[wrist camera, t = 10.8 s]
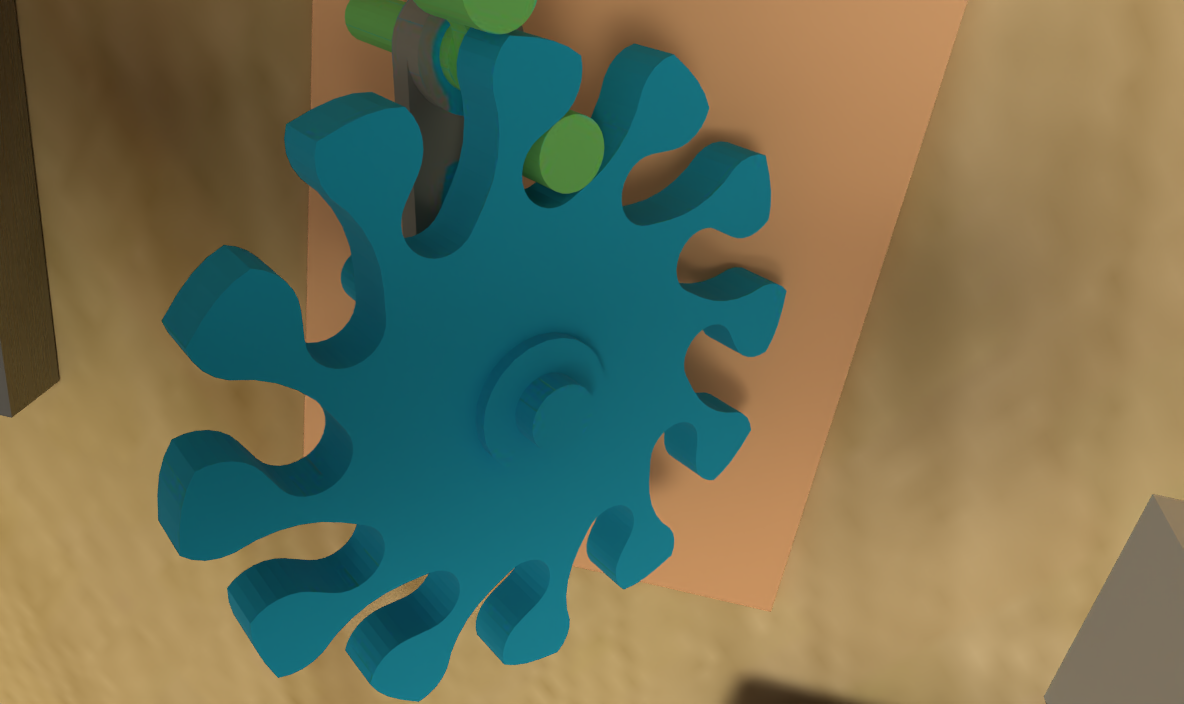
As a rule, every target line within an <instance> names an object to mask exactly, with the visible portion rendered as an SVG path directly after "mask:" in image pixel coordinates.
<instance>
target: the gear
mask: <svg viewBox="0 0 1184 704" xmlns="http://www.w3.org/2000/svg"><path fill="white" fill-rule="evenodd" d="M536 2H537V0H407V2H404V1H401V0H350V1H349V3H348V4H347V7H346V10H345V23H346V26H347V28H348V30H349V32H350V33H351V35H352V36H354V37H355V38H356V39H358V40H361V41H363V42H366V43H368V44H371V45H373V46H376V47H379V48H381V49H384V50H386V51H389V52H391V53H392V63H393V79H394V96H395V102H393V101H391V100H389V99H387V98H384V97H382V96H380V95H378V94H376V93H373V92H362V93H352V94H349V95H345V96H342V97H338V98H335V99H332V100H330V101H328V102H326V103H324V104H322V105H319V106H317V107H315V108H313V109H311V110H310V111H308V112H306V113H304V114H303V115H301V116H299V117H298V118H296V119H294V120H293V121H291V122H289V123H287V124H286V129H285V137H284V141H285V149H286V155H287V157H288V159H289V162H290V164H291V167H292V168H293V169H294V171H295V172H296V173H297V175H298V176H299V177H300V178H301V179H302V180H303V181H304V182H306V183H307V184H308V185H309V186H311V187H312V188H313V189H314V190H316V191H317V192H318V193H319V194H320V195H321V197H322V198H323V199H324V200H325V201H326V202H327V204H328V205H329V206H330V207H331V208H332V210H333V212H334V213H335V215H336V217H337V218H338V220H339V222H340V223H341V225H342V227H343V230H344V232H345V235H346V238H347V240H348V243H349V246H350V251H351V255H350V257H349V258H348V259H347V260H346V262H345V263H344V265H343V268H342V271H341V284H342V287H343V289H344V291H345V292H346V294H348V295H349V296H350V297H351V298H352V299H353V300H355V301H356V304H355V308H354V311H353V314H352V316H351V318H350V320H349V322H348V323H347V324H346V325H345V326H344V328H343V329H342V330H341V331H339V332H338V333H337V334H336V335H334V336H332V337H330V338H328V339H327V340H323V341H320V342H313V343H306V342H305V339H304V331H303V322H302V314H301V308H300V304H299V300H298V298H297V296H296V294H295V292H294V291H293V289H292V288H291V287H290V286H289V285H288V284H287V283H286V281H284V280H283V279H282V278H281V277H280V276H279V275H277V274H276V273H275V272H274V271H273V270H272V269H270V268H269V267H268V266H267V265H266V264H265V263H264V262H262V261H261V260H260V259H259V258H258V257H256V256H255V255H253V254H252V253H250V252H249V251H247V250H244V249H242V248H239V247H236V246H228V245H223V246H222V247H220V248H219V249H218V250H216V251H215V252H214V253H212V254H211V255H210V256H208V257H207V258H206V259H205V260H204V261H203V262H202V263H201V264H200V265H199V266H198V267H197V269H196V270H195V271H194V272H193V273H192V274H191V275H190V277H189V278H188V280H187V281H186V282H185V284H184V285H183V287H182V288H181V289H180V291H179V292H178V294H177V295H176V297H175V299H174V300H173V302H172V304H171V306H170V307H169V309H168V311H167V312H166V314H165V316H164V318H163V319H162V323H163V324H164V326H165V328H166V330H167V332H168V333H169V334H170V336H171V337H172V338H173V339H174V340H175V341H176V343H177V344H178V345H179V346H180V347H181V349H182V350H183V351H184V352H185V353H186V355H187V356H188V357H189V358H190V359H191V361H192V362H193V363H194V364H195V365H197V366H198V367H199V368H200V369H201V370H202V371H203V372H205V373H207V374H209V375H211V376H213V377H216V378H221V379H226V380H258V381H265V382H272V383H277V384H280V385H283V386H286V387H289V388H292V389H295V390H298V391H300V392H302V393H303V394H305V395H307V396H309V397H310V398H312V399H314V400H315V401H317V402H318V403H319V404H320V406H321V407H322V409H323V411H324V415H325V428H324V432H323V435H322V437H321V439H320V441H319V443H318V444H317V445H316V447H315V448H314V449H313V450H312V451H311V452H310V453H309V454H308V455H307V456H305V457H304V458H302V459H300V460H299V461H297V462H294V463H291V464H288V465H282V466H273V465H268V464H265V463H262V462H261V461H259V460H258V459H256V458H255V457H254V456H253V455H252V454H251V453H250V452H249V451H248V450H247V449H246V448H244V447H243V446H242V445H241V444H240V443H239V442H238V441H237V440H235V439H234V438H232V437H231V436H230V435H227V434H224V433H222V432H219V431H211V430H202V431H194V432H190V433H186V434H183V435H181V436H178V437H176V438H174V439H172V440H171V443H170V445H169V447H168V449H167V451H166V453H165V455H164V458H163V462H162V466H161V470H160V474H159V483H158V521H159V522H160V524H161V526H162V527H163V529H164V530H165V532H166V534H167V535H168V537H169V539H170V540H171V542H172V544H173V545H174V547H175V549H176V550H177V552H178V553H179V555H180V556H182V557H185V558H188V559H191V560H203V561H207V560H213V559H219V558H222V557H225V556H227V555H230V554H233V553H235V552H237V551H238V550H240V549H242V548H243V547H245V546H247V545H249V544H250V543H252V542H254V541H255V540H258V539H260V538H262V537H265V536H267V535H269V534H272V533H274V532H276V531H279V530H283V529H286V528H290V527H293V526H297V525H301V524H309V523H316V522H342V523H351V524H357V525H356V528H355V531H354V533H353V535H352V536H351V538H350V539H349V541H348V542H347V543H346V544H345V545H344V546H343V547H342V548H341V549H340V550H338V551H337V552H335V553H334V554H332V555H330V556H328V557H326V558H322V559H318V560H300V559H287V558H280V559H271V560H267V561H263V562H261V563H258V564H256V565H253V566H252V567H250V568H249V569H247V570H245V571H244V572H242V573H241V574H240V575H239V576H238V577H237V578H235V579H234V581H233V582H232V583H231V584H230V585H229V586H228V588H227V590H228V599H229V603H230V606H231V609H232V611H233V614H234V616H235V617H236V619H237V620H238V622H239V623H240V625H241V627H242V628H243V630H244V631H245V633H246V635H247V636H248V638H249V639H250V641H251V643H252V644H253V646H254V647H255V649H256V650H257V652H258V653H259V655H260V656H261V658H262V659H263V661H264V662H265V664H266V665H267V666H268V667H269V668H270V669H271V670H272V672H273V673H274V674H275V675H276V676H277V677H278V678H279V677H283V676H287V675H291V674H293V673H295V672H297V671H299V670H301V669H303V668H305V667H306V666H307V665H309V664H310V663H312V662H313V661H314V660H315V659H316V658H317V657H318V656H319V655H320V654H322V653H323V651H324V650H325V649H326V647H327V646H328V645H329V643H330V642H331V641H332V640H333V638H334V637H335V636H336V634H337V633H338V632H339V631H340V630H341V629H342V628H343V627H344V626H345V625H346V624H347V623H348V622H349V621H350V620H351V619H352V618H353V617H354V616H355V615H357V614H358V613H359V612H360V611H361V610H363V609H364V608H365V607H366V606H367V605H369V604H370V603H372V602H373V601H375V600H376V599H378V598H379V597H381V596H382V595H384V594H385V593H387V592H389V591H391V590H393V589H395V588H397V587H399V586H401V585H403V584H405V583H407V582H409V581H412V580H414V579H416V578H419V577H421V576H423V575H426V574H428V573H429V574H428V576H427V578H426V579H425V581H424V582H423V583H422V584H421V585H420V587H419V588H418V589H416V590H415V591H414V592H413V593H411V594H410V595H408V596H406V597H404V598H402V599H400V600H397V601H395V602H393V603H391V604H388V605H386V606H384V607H382V608H380V609H378V610H376V611H374V612H373V613H371V614H370V615H369V616H367V617H366V618H365V619H364V620H363V621H362V622H361V623H360V624H359V625H358V626H357V627H356V628H355V630H354V631H353V633H352V634H351V636H350V638H349V640H348V642H347V646H346V649H345V651H346V652H347V653H348V655H349V656H350V657H351V659H352V660H353V662H354V663H355V664H356V666H357V667H358V668H359V670H360V671H361V672H362V674H363V675H364V677H365V678H366V679H367V681H368V682H369V683H370V685H372V686H373V687H374V688H375V689H376V690H377V691H378V692H380V693H382V694H384V695H386V696H389V697H393V698H397V699H401V700H409V701H417V702H419V701H420V700H422V699H423V698H424V697H426V696H427V695H428V694H429V693H430V692H431V691H432V690H433V689H434V688H435V687H436V686H437V685H438V683H439V682H440V680H441V679H442V678H443V676H444V674H445V671H446V669H447V667H448V663H449V659H450V655H451V652H452V649H453V647H454V644H455V642H456V640H457V637H458V635H459V633H460V632H461V630H462V628H463V626H464V624H465V623H466V621H467V619H468V618H469V617H470V615H471V614H472V612H473V611H474V610H475V608H476V607H477V606H478V604H479V603H480V602H481V601H482V600H483V599H484V598H485V596H486V595H487V594H488V593H489V592H490V591H491V590H492V589H493V588H494V587H495V586H496V585H497V584H498V583H499V582H500V581H501V580H502V579H503V578H504V577H505V576H506V575H507V574H508V573H509V572H510V571H511V570H512V569H513V568H514V570H513V571H512V572H511V573H510V575H509V576H508V577H507V578H506V579H505V580H504V581H503V582H502V583H501V584H500V585H499V586H498V587H497V588H496V589H495V590H494V591H493V592H492V593H491V594H490V595H489V596H488V598H487V599H486V600H485V602H484V603H483V605H482V606H481V608H480V611H479V613H478V616H477V620H476V631H477V635H478V636H479V637H480V638H481V639H482V640H483V641H484V642H485V644H486V645H487V646H488V647H489V648H490V649H491V650H492V651H493V652H494V654H495V655H496V656H497V657H498V658H499V659H500V660H501V661H502V662H503V663H504V664H505V665H518V664H524V663H528V662H532V661H535V660H538V659H541V658H544V657H546V656H549V655H551V654H554V653H556V652H558V650H559V649H560V647H561V646H562V645H563V643H564V641H565V639H566V636H567V634H568V630H569V621H570V619H569V615H568V611H567V604H566V592H567V584H568V579H569V575H570V571H571V568H572V565H573V562H574V560H575V557H576V555H577V552H578V550H579V548H580V546H581V544H582V542H583V540H584V538H585V536H586V534H587V531H588V530H589V528H590V526H591V524H592V523H593V522H594V520H595V519H596V520H595V522H594V525H593V527H592V529H591V531H590V533H589V536H588V540H587V544H586V551H587V555H588V557H589V559H590V561H591V562H592V563H594V564H595V565H596V566H597V567H598V568H599V569H600V570H602V571H603V572H604V573H605V574H606V575H607V576H608V577H610V578H611V579H612V580H613V581H614V582H615V583H616V584H618V585H619V586H620V587H621V588H622V589H626V588H628V587H630V586H632V585H634V584H636V583H638V582H639V581H641V580H642V579H644V578H645V577H647V576H648V575H649V574H650V573H652V572H653V571H654V570H656V569H657V568H658V567H659V566H660V565H661V564H662V563H664V562H665V561H666V560H667V559H668V558H669V557H670V556H671V555H672V552H673V549H674V535H673V532H672V531H671V529H670V528H669V527H668V526H666V525H665V524H664V523H663V522H661V520H660V519H659V518H658V516H657V515H656V513H655V511H654V509H653V506H652V503H651V498H650V493H649V476H650V461H651V455H652V451H653V449H654V446H655V444H656V442H657V441H658V439H659V438H660V437H661V435H662V434H663V433H664V445H665V448H666V451H667V452H668V454H669V455H671V456H672V457H673V458H675V459H676V460H677V461H679V462H680V463H682V464H683V465H685V466H686V467H688V468H689V469H690V470H692V471H693V472H695V473H696V474H698V475H699V476H701V477H702V478H703V479H706V480H715V479H716V478H717V477H718V476H719V475H720V474H721V473H722V472H723V471H724V469H725V468H726V467H727V466H728V465H729V463H730V462H731V461H732V459H733V458H734V457H735V455H736V454H737V452H738V451H739V449H740V448H741V446H742V444H743V443H744V441H745V439H746V438H747V436H748V435H749V433H750V431H751V426H750V422H749V420H748V418H747V417H746V416H745V415H744V414H743V413H741V412H739V411H738V410H736V409H734V408H733V407H731V406H729V405H728V404H726V403H724V402H723V401H721V400H719V399H718V398H716V397H714V396H713V395H711V394H708V393H705V392H702V393H695V392H694V390H693V388H692V386H691V384H690V382H689V380H688V378H687V376H686V374H685V371H684V361H685V356H686V353H687V350H688V348H689V346H690V344H691V342H692V341H693V339H694V338H695V337H696V335H697V334H698V333H700V332H701V331H702V330H703V331H704V333H705V334H706V335H708V336H709V337H710V338H712V339H714V340H716V341H718V342H720V343H721V344H723V345H725V346H727V347H729V348H730V349H732V350H734V351H736V352H738V353H740V354H741V355H743V356H746V357H755V356H758V355H761V354H763V353H764V352H766V350H767V349H768V347H769V345H770V343H771V341H772V339H773V337H774V334H775V332H776V329H777V326H778V323H779V320H780V316H781V313H782V309H783V305H784V301H785V296H786V292H787V291H786V290H785V289H784V287H783V286H781V285H779V284H776V283H774V282H772V281H770V280H768V279H766V278H764V277H761V276H759V275H757V274H755V273H753V272H751V271H748V270H746V269H744V268H742V267H734V268H730V269H727V270H726V271H724V272H722V273H720V274H719V275H717V276H715V277H713V278H710V279H707V280H705V281H701V282H696V283H679V281H678V279H677V271H676V270H677V262H678V259H679V255H680V253H681V251H682V249H683V247H684V245H685V244H686V242H687V241H688V240H689V239H690V238H691V237H692V236H693V235H694V234H695V233H697V232H698V231H700V230H702V229H705V228H713V229H715V230H717V231H720V232H722V233H724V234H727V235H729V236H731V237H734V238H746V237H749V236H751V235H753V234H755V233H756V232H758V231H759V230H760V229H761V228H762V227H763V226H764V225H765V224H766V222H767V221H768V220H769V215H770V208H771V185H770V175H769V170H768V165H767V159H766V155H763V154H760V153H757V152H754V151H751V150H749V149H746V148H743V147H740V146H737V145H734V144H731V143H728V142H722V141H719V142H715V143H711V144H710V145H708V146H706V147H704V148H703V149H702V150H701V151H700V152H699V153H698V154H697V155H696V156H695V158H694V159H693V160H692V162H691V163H690V164H689V165H688V167H687V168H686V169H685V170H684V171H683V172H682V173H681V174H680V175H679V176H678V177H677V178H676V179H675V180H674V181H673V182H672V183H671V184H669V185H668V186H667V187H666V188H664V189H663V190H662V191H660V192H658V193H657V194H655V195H653V196H651V197H649V198H648V199H645V200H642V201H639V202H636V203H633V204H630V205H626V206H622V190H623V186H624V183H625V180H626V178H627V176H628V174H629V172H630V171H631V169H632V168H633V167H634V166H635V165H636V164H637V163H638V161H640V160H641V159H643V158H644V157H646V156H649V155H651V154H656V153H660V152H665V151H670V150H674V149H677V148H680V147H682V146H683V145H685V144H687V143H688V142H689V141H690V140H691V139H692V138H693V137H695V135H696V134H697V133H698V131H699V130H700V129H701V127H702V125H703V123H704V121H705V119H706V117H707V114H708V111H709V105H708V101H707V98H706V95H705V93H704V91H703V89H702V87H701V86H700V84H699V82H698V80H697V79H696V78H695V77H694V75H693V74H692V73H691V72H690V70H689V69H688V68H687V67H686V66H685V65H684V64H683V63H682V62H681V61H680V60H679V59H678V58H677V57H676V56H675V55H674V54H671V53H668V52H664V51H660V50H657V49H653V48H649V47H646V46H642V45H638V44H635V43H634V44H632V45H630V46H628V47H626V48H624V49H623V50H622V51H621V52H620V53H619V54H618V55H616V57H615V58H614V60H613V61H612V62H611V64H610V65H609V67H608V69H607V72H606V74H605V76H604V79H603V83H602V87H601V91H600V95H599V98H598V101H597V103H596V106H595V108H594V111H593V113H592V116H591V118H590V117H588V116H586V115H583V114H580V113H578V112H575V111H572V110H570V108H571V106H572V104H573V103H574V101H575V99H576V97H577V94H578V92H579V88H580V84H581V80H582V58H581V55H580V54H578V53H577V52H575V51H574V50H572V49H571V48H570V47H568V46H565V45H563V44H560V43H558V42H555V41H553V40H549V39H546V38H542V37H539V36H536V35H532V34H529V33H526V32H524V31H523V27H522V25H523V24H524V23H525V22H526V20H527V19H528V18H529V17H530V15H531V14H532V12H533V10H534V8H535V6H536ZM522 176H524V177H526V178H528V179H530V180H533V181H535V183H534V184H533V185H531V186H530V187H528V188H525V189H524V186H523V183H522ZM401 221H402V225H403V234H402V227H401Z"/></svg>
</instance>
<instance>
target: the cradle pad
mask: <svg viewBox="0 0 1184 704" xmlns="http://www.w3.org/2000/svg"><path fill="white" fill-rule="evenodd" d="M349 1H350V0H313V4H312V54H311V105H310V110H311V109H313V108H315V107H317V106H319V105H322V104H324V103H326V102H328V101H330V100H332V99H335V98H338V97H342V96H345V95H349V94H352V93H362V92H373V93H376V94H378V95H380V96H382V97H384V98H387V99H389V100H391V101H393V102H395V96H394V79H393V63H392V53H391V52H389V51H386V50H384V49H381V48H379V47H376V46H373V45H371V44H368V43H366V42H363V41H361V40H358V39H356V38H355V37H354V36H352V35H351V33H350V32H349V30H348V28H347V26H346V23H345V10H346V7H347V4H348V3H349ZM401 1H404V2H407V0H401ZM967 2H968V0H537V2H536V6H535V8H534V10H533V12H532V14H531V15H530V17H529V18H528V19H527V20H526V22H525V23H524V24H523V25H522V27H523V31H524V32H526V33H529V34H532V35H536V36H539V37H542V38H546V39H549V40H553V41H555V42H558V43H560V44H563V45H565V46H568V47H570V48H571V49H572V50H574V51H575V52H577V53H578V54H580V55H581V58H582V80H581V84H580V88H579V92H578V94H577V97H576V99H575V101H574V103H573V104H572V106H571V108H570V110H572V111H575V112H578V113H580V114H583V115H586V116H588V117H590V118H591V116H592V113H593V111H594V108H595V106H596V103H597V101H598V98H599V95H600V91H601V87H602V83H603V79H604V76H605V74H606V72H607V69H608V67H609V65H610V64H611V62H612V61H613V60H614V58H615V57H616V55H618V54H619V53H620V52H621V51H622V50H623V49H624V48H626V47H628V46H630V45H632V44H634V43H635V44H638V45H642V46H646V47H649V48H653V49H657V50H660V51H664V52H668V53H671V54H674V55H675V56H676V57H677V58H678V59H679V60H680V61H681V62H682V63H683V64H684V65H685V66H686V67H687V68H688V69H689V70H690V72H691V73H692V74H693V75H694V77H695V78H696V79H697V80H698V82H699V84H700V86H701V87H702V89H703V91H704V93H705V95H706V98H707V101H708V105H709V111H708V114H707V117H706V119H705V121H704V123H703V125H702V127H701V129H700V130H699V131H698V133H697V134H696V135H695V137H693V138H692V139H691V140H690V141H689V142H688V143H687V144H685V145H683V146H682V147H680V148H677V149H674V150H670V151H665V152H660V153H656V154H651V155H649V156H646V157H644V158H643V159H641V160H640V161H638V163H637V164H636V165H635V166H634V167H633V168H632V169H631V171H630V172H629V174H628V176H627V178H626V180H625V183H624V186H623V190H622V206H626V205H630V204H633V203H636V202H639V201H642V200H645V199H648V198H649V197H651V196H653V195H655V194H657V193H658V192H660V191H662V190H663V189H664V188H666V187H667V186H668V185H669V184H671V183H672V182H673V181H674V180H675V179H676V178H677V177H678V176H679V175H680V174H681V173H682V172H683V171H684V170H685V169H686V168H687V167H688V165H689V164H690V163H691V162H692V160H693V159H694V158H695V156H696V155H697V154H698V153H699V152H700V151H701V150H702V149H703V148H704V147H706V146H708V145H710V144H711V143H715V142H719V141H722V142H728V143H731V144H734V145H737V146H740V147H743V148H746V149H749V150H751V151H754V152H757V153H760V154H763V155H766V159H767V165H768V170H769V175H770V185H771V208H770V215H769V220H768V221H767V222H766V224H765V225H764V226H763V227H762V228H761V229H760V230H759V231H758V232H756V233H755V234H753V235H751V236H749V237H746V238H734V237H731V236H729V235H727V234H724V233H722V232H720V231H717V230H715V229H713V228H705V229H702V230H700V231H698V232H697V233H695V234H694V235H693V236H692V237H691V238H690V239H689V240H688V241H687V242H686V244H685V245H684V247H683V249H682V251H681V253H680V255H679V259H678V262H677V270H676V271H677V279H678V281H679V283H696V282H701V281H705V280H707V279H710V278H713V277H715V276H717V275H719V274H720V273H722V272H724V271H726V270H727V269H730V268H734V267H742V268H744V269H746V270H748V271H751V272H753V273H755V274H757V275H759V276H761V277H764V278H766V279H768V280H770V281H772V282H774V283H776V284H779V285H781V286H783V287H784V289H785V290H786V291H787V292H786V296H785V301H784V305H783V309H782V313H781V316H780V320H779V323H778V326H777V329H776V332H775V334H774V337H773V339H772V341H771V343H770V345H769V347H768V349H767V350H766V352H764V353H763V354H761V355H758V356H755V357H746V356H743V355H741V354H740V353H738V352H736V351H734V350H732V349H730V348H729V347H727V346H725V345H723V344H721V343H720V342H718V341H716V340H714V339H712V338H710V337H709V336H708V335H706V334H705V333H704V331H703V330H702V331H701V332H700V333H698V334H697V335H696V337H695V338H694V339H693V341H692V342H691V344H690V346H689V348H688V350H687V353H686V356H685V361H684V371H685V374H686V376H687V378H688V380H689V382H690V384H691V386H692V388H693V390H694V392H695V393H702V392H705V393H708V394H711V395H713V396H714V397H716V398H718V399H719V400H721V401H723V402H724V403H726V404H728V405H729V406H731V407H733V408H734V409H736V410H738V411H739V412H741V413H743V414H744V415H745V416H746V417H747V418H748V420H749V422H750V426H751V431H750V433H749V435H748V436H747V438H746V439H745V441H744V443H743V444H742V446H741V448H740V449H739V451H738V452H737V454H736V455H735V457H734V458H733V459H732V461H731V462H730V463H729V465H728V466H727V467H726V468H725V469H724V471H723V472H722V473H721V474H720V475H719V476H718V477H717V478H716V479H715V480H706V479H703V478H702V477H701V476H699V475H698V474H696V473H695V472H693V471H692V470H690V469H689V468H688V467H686V466H685V465H683V464H682V463H680V462H679V461H677V460H676V459H675V458H673V457H672V456H671V455H669V454H668V452H667V451H666V448H665V445H664V433H663V434H662V435H661V437H660V438H659V439H658V441H657V442H656V444H655V446H654V449H653V451H652V455H651V461H650V476H649V493H650V498H651V503H652V506H653V509H654V511H655V513H656V515H657V516H658V518H659V519H660V520H661V522H663V523H664V524H665V525H666V526H668V527H669V528H670V529H671V531H672V532H673V535H674V549H673V552H672V555H671V556H670V557H669V558H668V559H667V560H666V561H665V562H664V563H662V564H661V565H660V566H659V567H658V568H657V569H656V570H654V571H653V572H652V573H650V574H649V575H648V576H647V577H645V578H644V579H642V580H641V581H640V582H644V583H648V584H653V585H657V586H661V587H666V588H670V589H674V590H679V591H683V592H687V593H692V594H696V595H700V596H705V597H709V598H713V599H718V600H722V601H726V602H731V603H735V604H739V605H744V606H748V607H752V608H757V609H761V610H765V611H770V612H771V610H772V607H773V604H774V601H775V597H776V594H777V591H778V588H779V585H780V582H781V579H782V576H783V573H784V570H785V566H786V563H787V560H788V557H789V554H790V551H791V548H792V545H793V542H794V539H795V535H796V532H797V529H798V526H799V523H800V520H801V517H802V514H803V511H804V507H805V504H806V501H807V498H808V495H809V492H810V489H811V486H812V483H813V480H814V476H815V473H816V470H817V467H818V464H819V461H820V458H821V455H822V452H823V449H824V445H825V442H826V439H827V436H828V433H829V430H830V427H831V424H832V421H833V418H834V414H835V411H836V408H837V405H838V402H839V399H840V396H841V393H842V390H843V387H844V383H845V380H846V377H847V374H848V371H849V368H850V365H851V362H852V359H853V356H854V352H855V349H856V346H857V343H858V340H859V337H860V334H861V331H862V328H863V325H864V321H865V318H866V315H867V312H868V309H869V306H870V303H871V300H872V297H873V293H874V290H875V287H876V284H877V281H878V278H879V275H880V272H881V269H882V266H883V262H884V259H885V256H886V253H887V250H888V247H889V244H890V241H891V238H892V235H893V231H894V228H895V225H896V222H897V219H898V216H899V213H900V210H901V207H902V204H903V200H904V197H905V194H906V191H907V188H908V185H909V182H910V179H911V176H912V173H913V169H914V166H915V163H916V160H917V157H918V154H919V151H920V148H921V145H922V142H923V138H924V135H925V132H926V129H927V126H928V123H929V120H930V117H931V114H932V111H933V107H934V104H935V101H936V98H937V95H938V92H939V89H940V86H941V83H942V80H943V76H944V73H945V70H946V67H947V64H948V61H949V58H950V55H951V52H952V48H953V45H954V42H955V39H956V36H957V33H958V30H959V27H960V24H961V21H962V17H963V14H964V11H965V8H966V5H967ZM522 183H523V186H524V189H525V188H528V187H530V186H531V185H533V184H534V183H535V181H533V180H530V179H528V178H526V177H524V176H522ZM401 227H402V234H403V225H402V221H401ZM350 255H351V251H350V246H349V243H348V240H347V238H346V235H345V232H344V230H343V227H342V225H341V223H340V222H339V220H338V218H337V217H336V215H335V213H334V212H333V210H332V208H331V207H330V206H329V205H328V204H327V202H326V201H325V200H324V199H323V198H322V197H321V195H320V194H319V193H318V192H317V191H316V190H314V189H313V188H312V187H311V186H309V206H308V256H307V307H306V343H313V342H320V341H323V340H327V339H328V338H330V337H332V336H334V335H336V334H337V333H338V332H339V331H341V330H342V329H343V328H344V326H345V325H346V324H347V323H348V322H349V320H350V318H351V316H352V314H353V311H354V308H355V304H356V301H355V300H353V299H352V298H351V297H350V296H349V295H348V294H346V292H345V291H344V289H343V287H342V284H341V271H342V268H343V265H344V263H345V262H346V260H347V259H348V258H349V257H350ZM324 428H325V415H324V411H323V409H322V407H321V406H320V404H319V403H318V402H317V401H315V400H314V399H312V398H310V397H309V396H307V395H305V408H304V457H305V456H307V455H308V454H309V453H310V452H311V451H312V450H313V449H314V448H315V447H316V445H317V444H318V443H319V441H320V439H321V437H322V435H323V432H324ZM595 520H596V519H595ZM595 520H594V522H595ZM594 522H593V523H592V524H591V526H590V528H589V530H588V531H587V534H586V536H585V538H584V540H583V542H582V544H581V546H580V548H579V550H578V552H577V555H576V557H575V560H574V562H573V565H572V566H575V567H579V568H583V569H588V570H592V571H596V572H601V573H604V572H603V571H602V570H600V569H599V568H598V567H597V566H596V565H595V564H594V563H592V562H591V561H590V559H589V557H588V555H587V551H586V544H587V540H588V536H589V533H590V531H591V529H592V527H593V525H594Z"/></svg>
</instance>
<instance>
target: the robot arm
mask: <svg viewBox="0 0 1184 704" xmlns="http://www.w3.org/2000/svg"><path fill="white" fill-rule="evenodd" d="M1044 698H1045V702H1046V704H1184V501H1183V500H1178V499H1174V498H1169V497H1164V496H1160V495H1155V494H1152V496H1151V498H1150V500H1149V502H1148V504H1147V505H1146V507H1145V509H1144V511H1143V513H1142V515H1141V517H1140V518H1139V520H1138V522H1137V524H1136V526H1135V528H1134V530H1133V532H1132V533H1131V535H1130V537H1129V539H1128V541H1127V543H1126V545H1125V546H1124V548H1123V550H1122V552H1121V554H1120V556H1119V558H1118V559H1117V561H1116V563H1115V565H1114V567H1113V569H1112V571H1111V573H1110V574H1109V576H1108V578H1107V580H1106V582H1105V584H1104V586H1103V587H1102V589H1101V591H1100V593H1099V595H1098V597H1097V599H1096V600H1095V602H1094V604H1093V606H1092V608H1091V610H1090V612H1089V613H1088V615H1087V617H1086V619H1085V621H1084V623H1083V625H1082V627H1081V628H1080V630H1079V632H1078V634H1077V636H1076V638H1075V640H1074V641H1073V643H1072V645H1071V647H1070V649H1069V651H1068V653H1067V654H1066V656H1065V658H1064V660H1063V662H1062V664H1061V666H1060V667H1059V669H1058V671H1057V673H1056V675H1055V677H1054V679H1053V681H1052V682H1051V684H1050V686H1049V688H1048V690H1047V692H1046V694H1045V695H1044Z"/></svg>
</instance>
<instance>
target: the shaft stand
mask: <svg viewBox="0 0 1184 704" xmlns="http://www.w3.org/2000/svg"><path fill="white" fill-rule="evenodd" d="M58 381H59V375H58V367H57V358H56V350H55V342H54V333H53V325H52V316H51V308H50V299H49V291H48V282H47V274H46V265H45V257H44V248H43V240H42V231H41V223H40V214H39V206H38V197H37V189H36V180H35V172H34V163H33V155H32V146H31V138H30V130H29V121H28V113H27V104H26V96H25V87H24V79H23V70H22V62H21V53H20V45H19V36H18V28H17V19H16V11H15V2H14V0H0V415H2V416H7V417H11V418H12V417H13V416H14V415H16V414H17V413H18V412H20V411H21V410H22V409H24V408H25V407H26V406H27V405H29V404H30V403H31V402H33V401H34V400H35V399H36V398H38V397H39V396H40V395H42V394H43V393H44V392H45V391H47V390H48V389H49V388H51V387H52V386H53V385H54V384H56V383H57V382H58Z"/></svg>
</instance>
